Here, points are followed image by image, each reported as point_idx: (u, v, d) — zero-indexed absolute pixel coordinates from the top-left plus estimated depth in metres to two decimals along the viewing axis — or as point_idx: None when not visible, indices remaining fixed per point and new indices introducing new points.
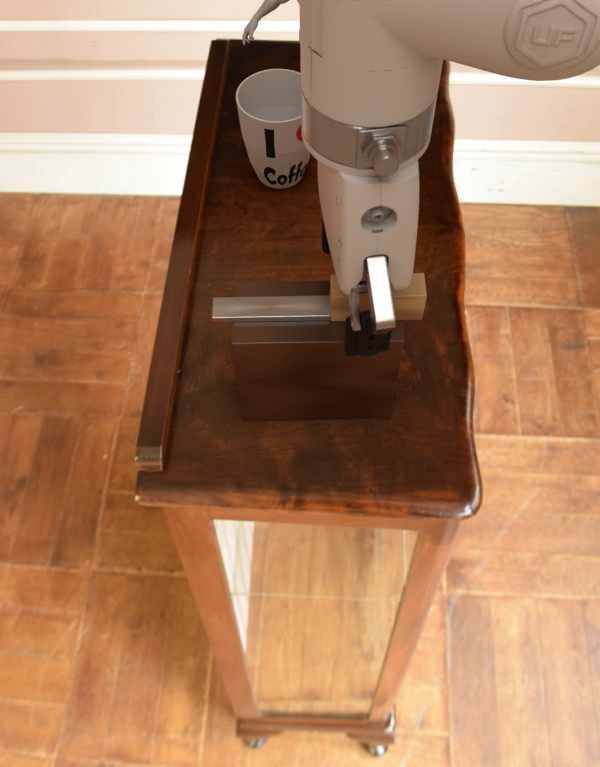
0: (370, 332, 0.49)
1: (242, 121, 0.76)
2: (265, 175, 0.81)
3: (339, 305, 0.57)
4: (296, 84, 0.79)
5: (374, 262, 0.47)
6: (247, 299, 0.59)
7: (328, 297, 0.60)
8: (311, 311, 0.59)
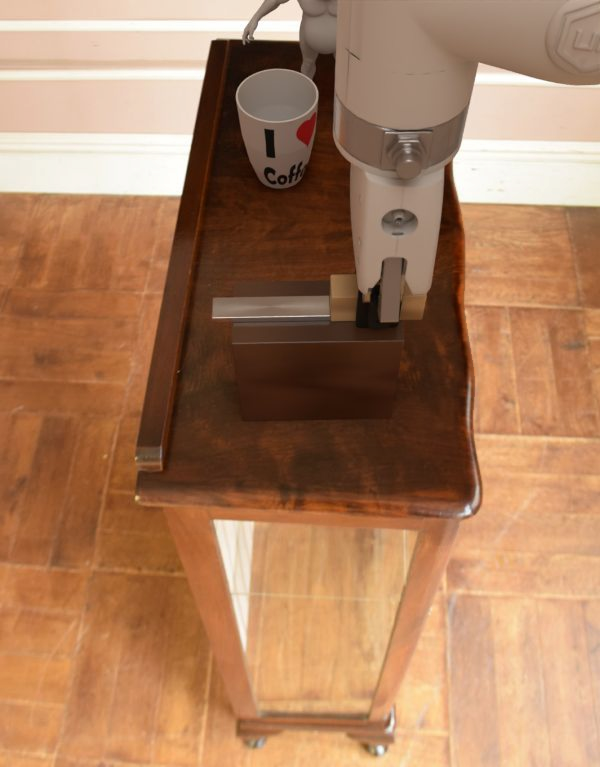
0: (376, 303, 0.52)
1: (242, 121, 0.76)
2: (265, 175, 0.81)
3: (339, 305, 0.57)
4: (296, 84, 0.79)
5: (390, 268, 0.48)
6: (247, 299, 0.59)
7: (328, 297, 0.60)
8: (311, 311, 0.59)
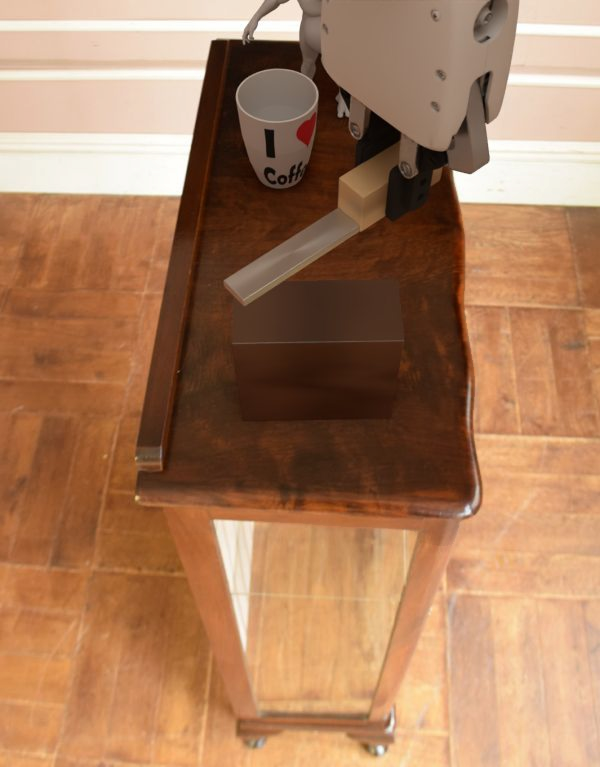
0: (444, 161, 0.42)
1: (242, 121, 0.76)
2: (265, 175, 0.81)
3: (370, 203, 0.46)
4: (296, 84, 0.79)
5: (470, 98, 0.39)
6: (261, 260, 0.46)
7: (339, 209, 0.48)
8: (337, 232, 0.47)
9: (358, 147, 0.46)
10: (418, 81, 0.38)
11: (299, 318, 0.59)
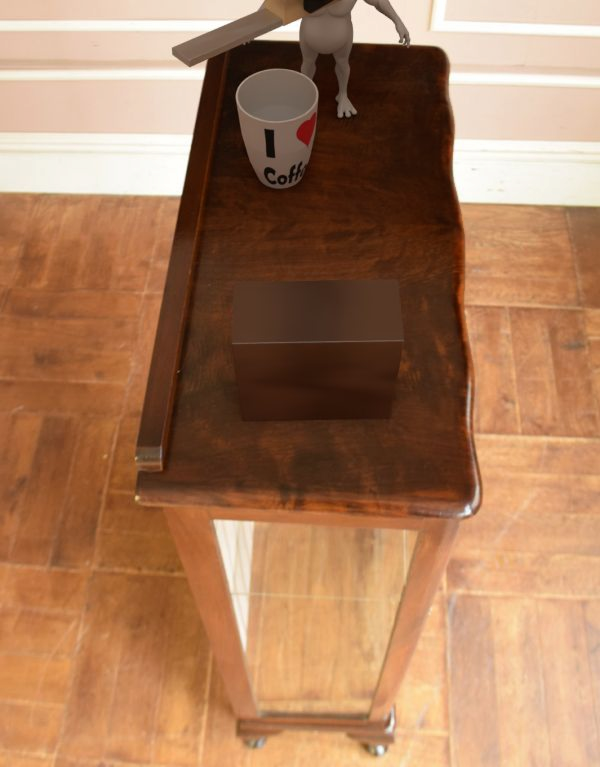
0: None
1: (242, 121, 0.76)
2: (265, 175, 0.81)
3: None
4: (296, 84, 0.79)
5: None
6: (203, 36, 0.56)
7: (266, 9, 0.59)
8: (264, 22, 0.58)
9: None
10: None
11: (299, 318, 0.59)
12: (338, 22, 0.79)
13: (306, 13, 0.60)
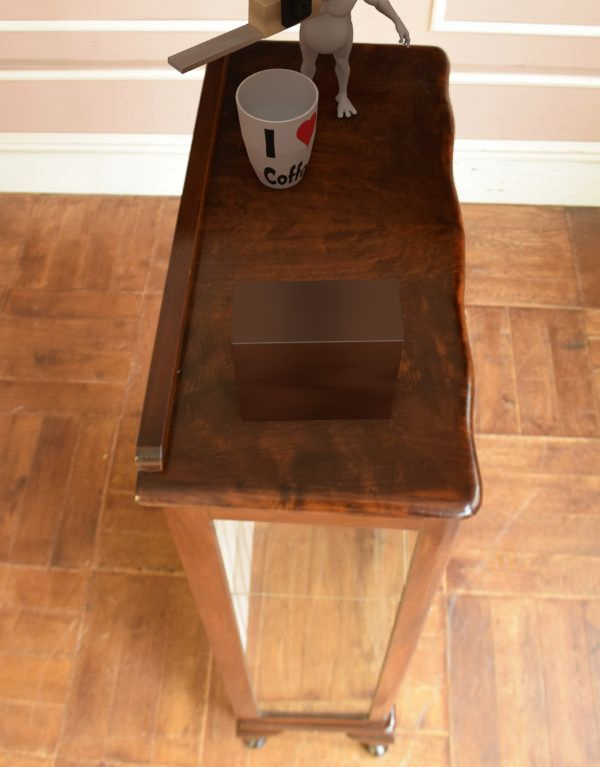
0: None
1: (242, 121, 0.76)
2: (265, 175, 0.81)
3: (270, 14, 0.67)
4: (296, 84, 0.79)
5: None
6: (194, 47, 0.66)
7: (249, 24, 0.69)
8: (247, 35, 0.68)
9: None
10: None
11: (299, 318, 0.59)
12: (338, 22, 0.79)
13: (284, 28, 0.69)
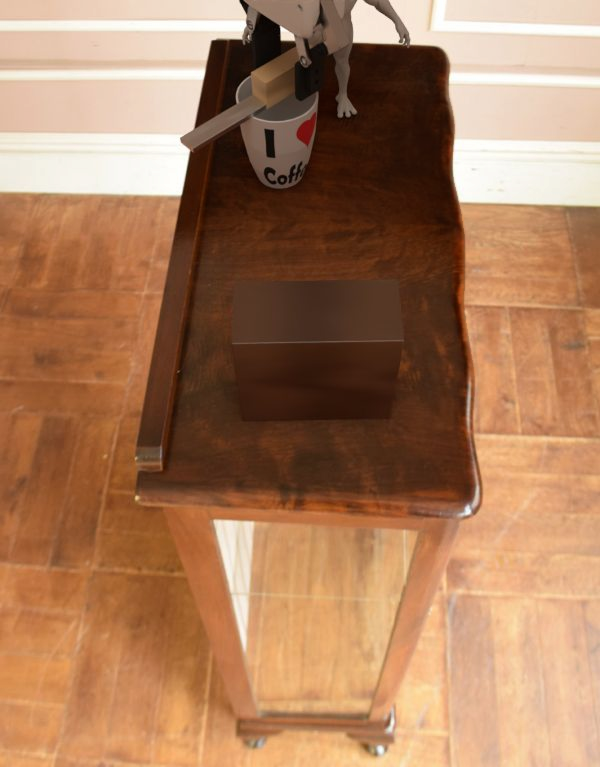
0: (325, 52, 0.68)
1: None
2: (265, 175, 0.81)
3: (271, 88, 0.73)
4: None
5: (324, 0, 0.65)
6: (204, 125, 0.73)
7: (253, 95, 0.75)
8: (251, 108, 0.74)
9: (252, 36, 0.73)
10: None
11: (299, 318, 0.59)
12: None
13: (285, 96, 0.76)
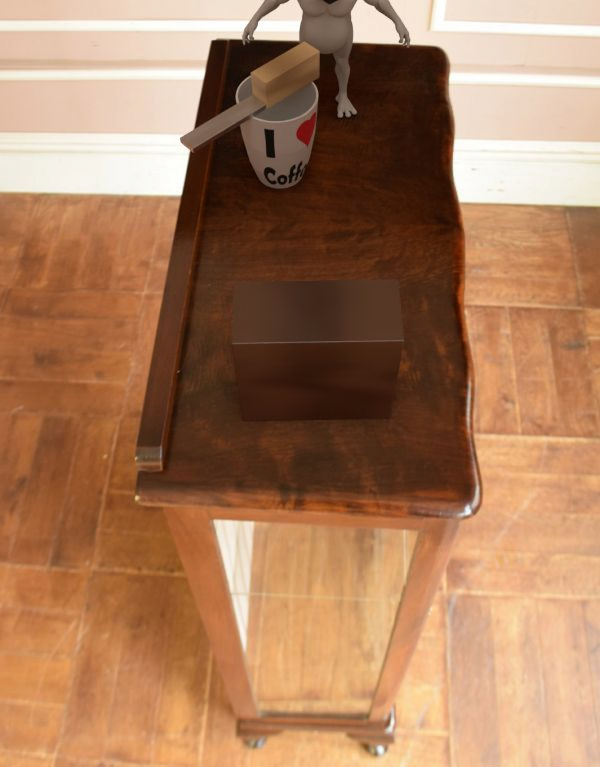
0: None
1: None
2: (265, 175, 0.81)
3: (271, 88, 0.73)
4: None
5: None
6: (203, 125, 0.73)
7: (253, 95, 0.75)
8: (251, 108, 0.74)
9: None
10: None
11: (299, 318, 0.59)
12: (338, 22, 0.79)
13: (285, 96, 0.76)
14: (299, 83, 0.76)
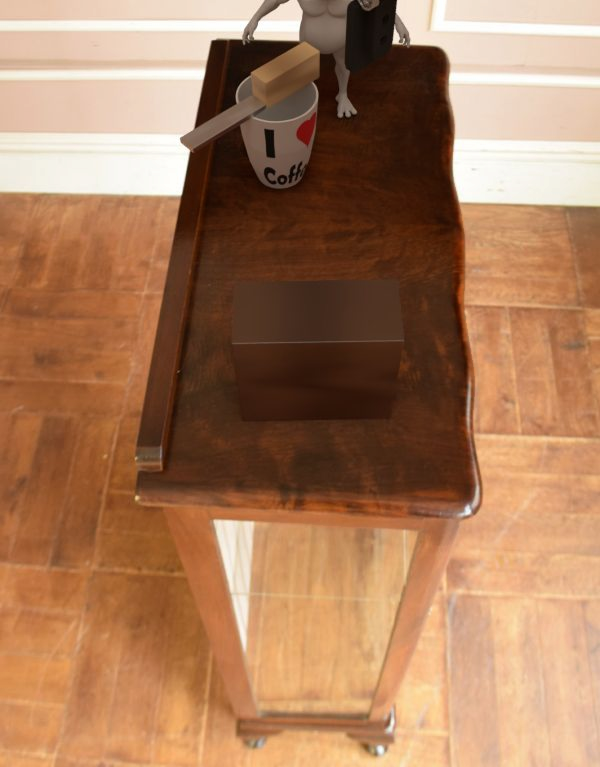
0: None
1: None
2: (265, 175, 0.81)
3: (271, 88, 0.73)
4: None
5: None
6: (203, 125, 0.73)
7: (253, 95, 0.75)
8: (251, 108, 0.74)
9: None
10: None
11: (299, 318, 0.59)
12: (338, 22, 0.79)
13: (285, 96, 0.76)
14: (299, 83, 0.76)
